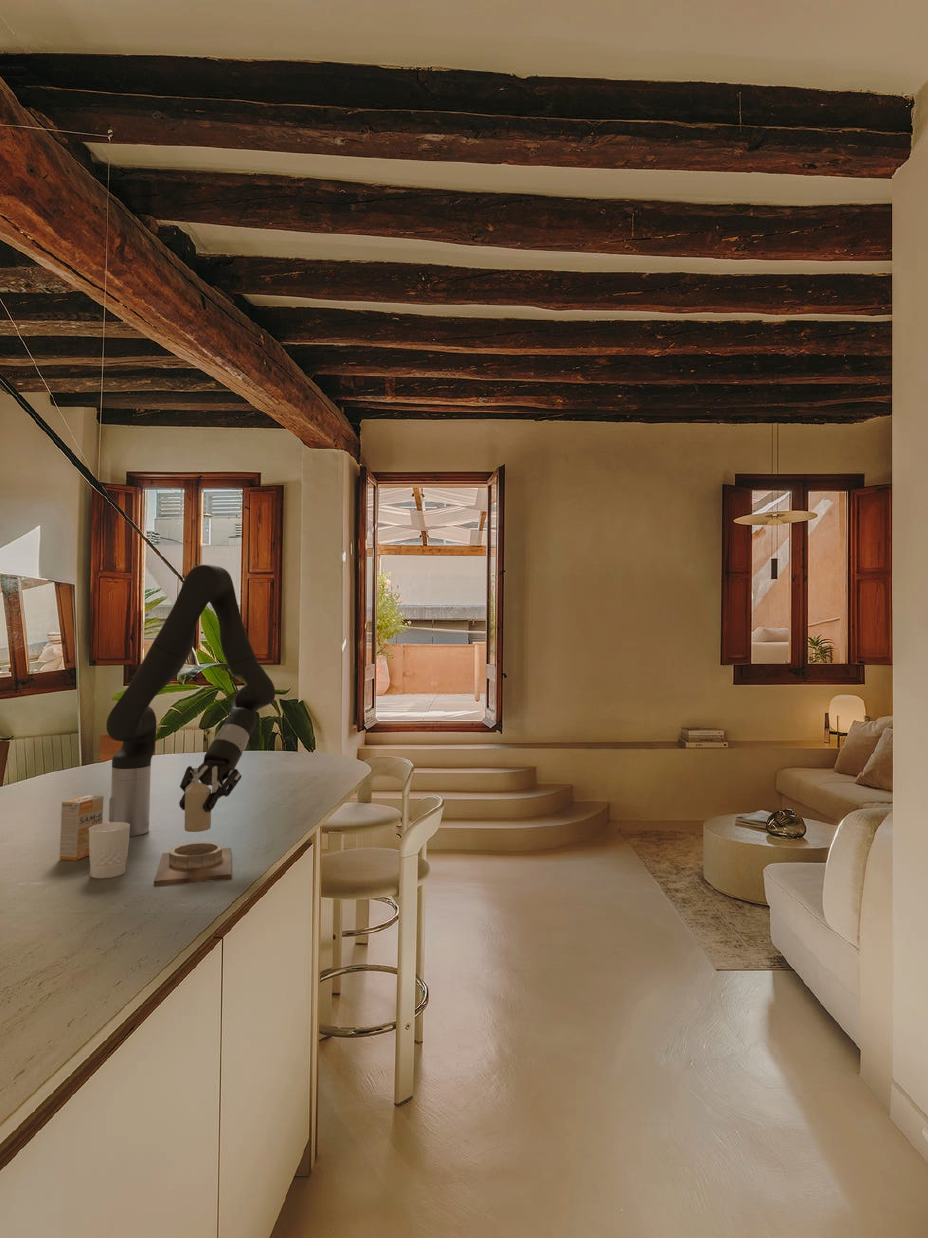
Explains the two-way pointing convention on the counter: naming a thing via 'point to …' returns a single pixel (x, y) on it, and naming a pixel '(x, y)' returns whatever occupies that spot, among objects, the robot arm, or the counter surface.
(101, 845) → the white cup
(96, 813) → the supplement box
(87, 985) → the counter surface
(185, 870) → the candle holder tray
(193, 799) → the candle
